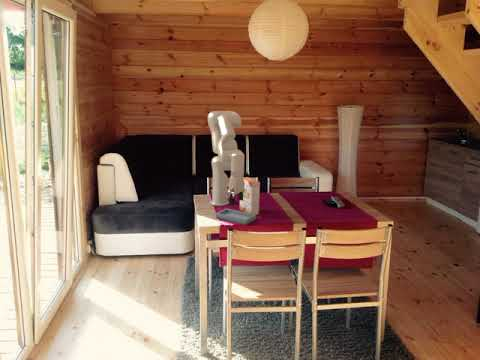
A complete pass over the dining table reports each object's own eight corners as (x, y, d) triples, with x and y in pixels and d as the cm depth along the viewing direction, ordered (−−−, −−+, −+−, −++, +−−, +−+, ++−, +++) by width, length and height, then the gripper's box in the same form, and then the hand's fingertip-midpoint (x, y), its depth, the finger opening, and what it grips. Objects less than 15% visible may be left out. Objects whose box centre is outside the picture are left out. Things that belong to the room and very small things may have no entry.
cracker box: (238, 209, 286) (239, 177, 281) (246, 208, 289) (248, 176, 284) (250, 216, 275) (252, 182, 270) (259, 214, 278) (260, 181, 273)
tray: (226, 213, 279) (226, 208, 278) (255, 219, 269) (255, 214, 268) (215, 218, 269) (215, 213, 269) (245, 224, 259) (246, 219, 259)
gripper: (239, 170, 272) (238, 197, 276) (223, 175, 257) (222, 204, 261) (250, 172, 268) (249, 199, 272) (235, 177, 253) (234, 206, 258)
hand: (236, 202), depth 267 cm, fingers open, 9 cm apart
